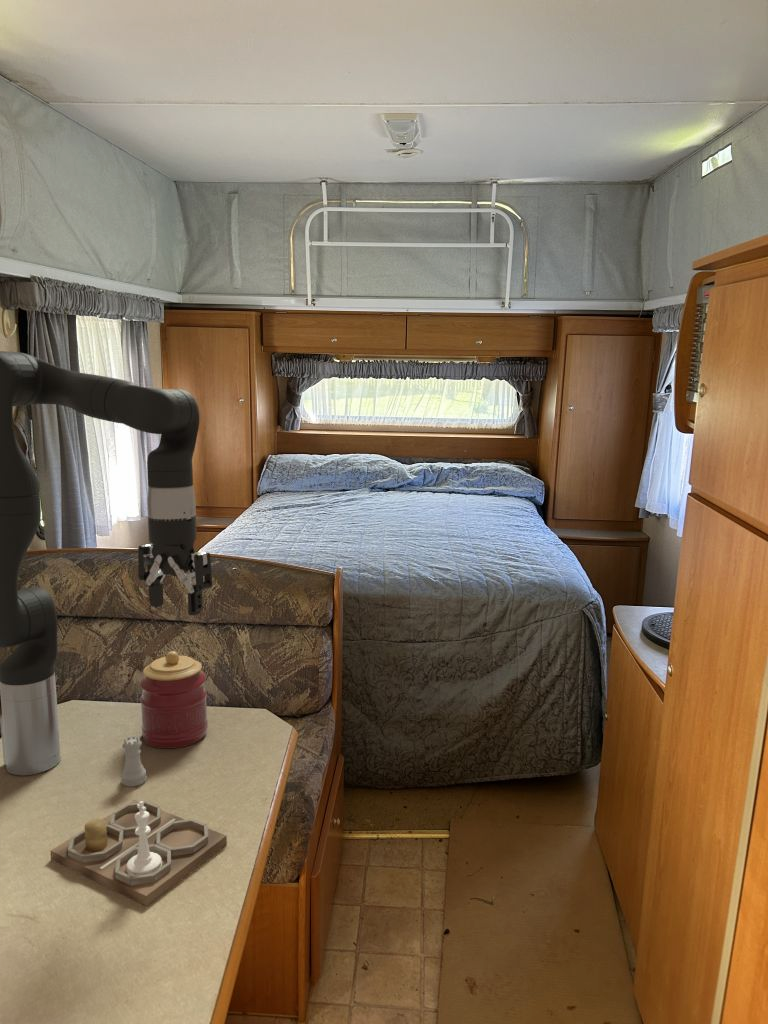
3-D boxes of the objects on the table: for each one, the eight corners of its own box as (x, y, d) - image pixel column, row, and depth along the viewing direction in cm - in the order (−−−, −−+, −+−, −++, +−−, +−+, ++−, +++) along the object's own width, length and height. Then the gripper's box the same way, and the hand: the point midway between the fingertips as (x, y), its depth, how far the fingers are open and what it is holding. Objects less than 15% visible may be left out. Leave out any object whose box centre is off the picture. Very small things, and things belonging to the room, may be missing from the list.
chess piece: (150, 851, 110) (147, 789, 108) (169, 865, 107) (166, 801, 105) (119, 867, 106) (116, 802, 105) (138, 882, 103) (134, 815, 101)
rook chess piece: (138, 789, 130) (136, 746, 129) (115, 786, 131) (113, 743, 130) (151, 776, 134) (149, 734, 133) (129, 773, 135) (127, 732, 134)
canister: (192, 752, 143) (189, 665, 140) (130, 747, 145) (125, 661, 142) (218, 723, 156) (215, 642, 153) (159, 718, 158) (156, 639, 155)
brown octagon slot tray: (50, 859, 110) (48, 828, 109) (135, 808, 124) (133, 780, 123) (146, 905, 100) (145, 872, 100) (226, 844, 114) (225, 814, 113)
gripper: (122, 512, 120) (127, 609, 123) (187, 520, 113) (191, 623, 116) (157, 506, 127) (161, 598, 129) (221, 514, 120) (224, 610, 122)
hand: (175, 610), depth 123 cm, fingers open, 8 cm apart
